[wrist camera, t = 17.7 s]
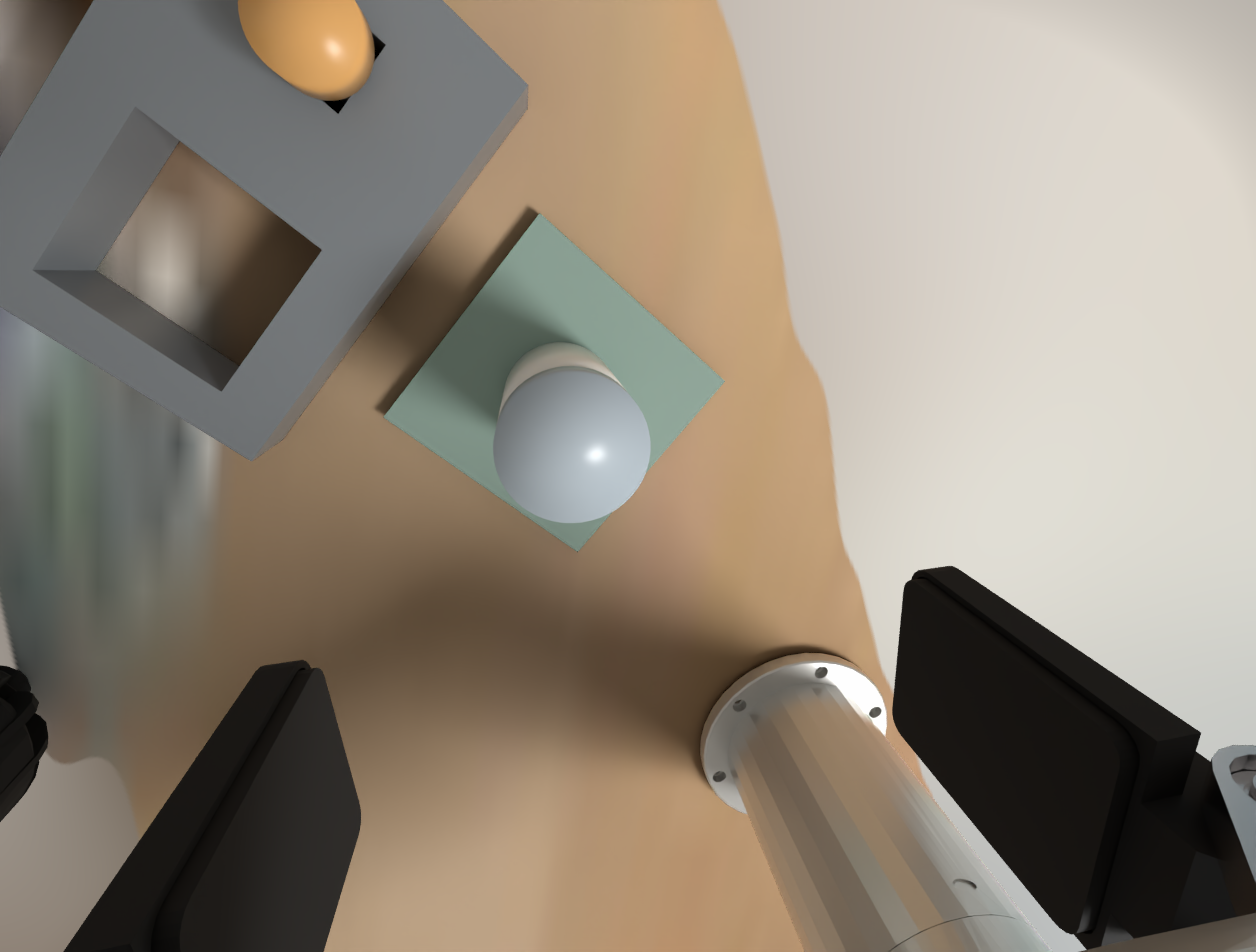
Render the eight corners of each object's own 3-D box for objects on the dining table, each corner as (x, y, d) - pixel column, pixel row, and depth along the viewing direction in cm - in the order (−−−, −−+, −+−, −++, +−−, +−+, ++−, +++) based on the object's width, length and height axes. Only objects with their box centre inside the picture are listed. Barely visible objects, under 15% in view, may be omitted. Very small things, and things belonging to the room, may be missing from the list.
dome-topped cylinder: (611, 336, 29) (645, 364, 21) (621, 446, 31) (655, 512, 23) (495, 348, 28) (481, 381, 20) (512, 459, 30) (505, 532, 22)
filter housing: (527, 108, 26) (528, 85, 23) (282, 440, 29) (251, 461, 26) (267, -145, 22) (223, -217, 19) (11, 267, 25) (-66, 265, 22)
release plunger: (412, 70, 25) (383, 17, 19) (361, 143, 25) (319, 110, 20) (332, -3, 23) (279, -81, 18) (280, 75, 24) (214, 20, 19)
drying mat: (721, 379, 31) (724, 381, 31) (576, 547, 33) (577, 551, 33) (539, 214, 27) (539, 213, 27) (385, 414, 29) (383, 417, 29)
